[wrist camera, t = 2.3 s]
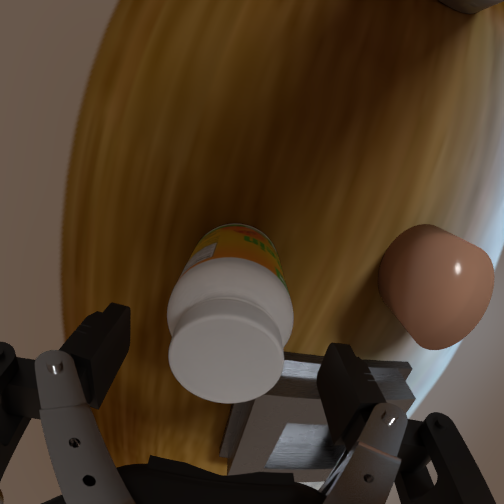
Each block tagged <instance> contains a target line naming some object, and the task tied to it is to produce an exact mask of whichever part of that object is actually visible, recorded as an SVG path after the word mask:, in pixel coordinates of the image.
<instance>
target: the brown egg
mask: <svg viewBox="0 0 504 504" xmlns="http://www.w3.org/2000/svg"><path fill="white" fill-rule="evenodd" d="M493 287H494V269H493V264H492V262H491V259H490V258H489V256H488V254H487V253H486V252H485V251H484V250H482V249H481V248H479V247H477V246H475V245H473V244H471V243H469V242H467V241H465V240H463V239H461V238H459V237H457V236H455V235H453V234H451V233H449V232H447V231H445V230H443V229H441V228H439V227H436V226H434V225H430V224H422V225H417V226H414V227H411V228H409V229H407V230H406V231H404V232H403V233H401V234H400V235H399V236H398V237H397V238H396V239H395V240H394V241H393V242H392V243H391V245H390V246H389V248H388V249H387V251H386V253H385V254H384V256H383V259H382V261H381V264H380V268H379V273H378V288H379V293H380V296H381V298H382V300H383V302H384V303H385V304H386V305H387V307H388V308H389V309H390V310H391V311H392V313H393V314H394V315H395V316H396V318H397V319H398V320H399V321H400V322H401V324H402V325H403V326H404V327H405V329H406V330H407V331H408V332H409V334H410V335H411V336H412V338H413V339H414V340H415V341H416V343H417V344H419V345H420V346H421V347H423V348H425V349H429V350H440V349H444V348H447V347H450V346H452V345H454V344H456V343H457V342H459V341H460V340H462V339H463V338H464V337H466V336H467V335H468V334H469V333H470V332H471V331H472V330H473V329H474V328H475V326H476V325H477V324H478V323H479V321H480V320H481V318H482V317H483V315H484V313H485V311H486V309H487V307H488V305H489V302H490V299H491V296H492V292H493Z"/></svg>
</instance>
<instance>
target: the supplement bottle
mask: <svg viewBox="0 0 504 504" xmlns="http://www.w3.org/2000/svg"><path fill="white" fill-rule="evenodd" d="M167 322H168V327H169V330H170V333H171V336H172V339H171V343H170V346H169V352H168V359H169V364H170V368H171V370H172V373H173V374H174V376H175V378H176V379H177V380H178V382H179V383H180V384H181V385H182V386H183V387H184V388H185V389H187V390H188V391H190V392H191V393H193V394H194V395H196V396H198V397H201V398H203V399H206V400H209V401H213V402H218V403H240V402H246V401H250V400H252V399H255V398H257V397H260V396H262V395H263V394H265V393H266V392H268V391H269V390H270V389H271V388H272V387H273V386H274V385H275V384H276V383H277V381H278V380H279V378H280V376H281V374H282V371H283V367H284V353H283V348H284V346H285V345H286V343H287V341H288V339H289V337H290V335H291V332H292V328H293V308H292V303H291V299H290V295H289V292H288V289H287V285H286V282H285V278H284V275H283V271H282V268H281V264H280V260H279V256H278V253H277V251H276V249H275V247H274V245H273V243H272V242H271V240H270V239H269V238H268V237H267V236H266V235H265V234H264V233H262V232H261V231H259V230H258V229H256V228H254V227H251V226H249V225H245V224H236V223H233V224H226V225H222V226H219V227H217V228H215V229H213V230H211V231H210V232H208V233H207V234H206V235H205V236H204V237H203V238H202V239H201V240H200V241H199V243H198V244H197V246H196V247H195V249H194V251H193V253H192V255H191V256H190V258H189V260H188V262H187V264H186V266H185V268H184V270H183V272H182V274H181V275H180V277H179V279H178V281H177V283H176V285H175V287H174V289H173V291H172V294H171V297H170V299H169V303H168V308H167Z"/></svg>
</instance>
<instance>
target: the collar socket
mask: <svg viewBox="0 0 504 504" xmlns="http://www.w3.org/2000/svg"><path fill="white" fill-rule="evenodd" d="M283 353H284V367H283V371H282V374H281V376H280V378H279V380H278V381H277V383H276V384H275V385H274V386H273V387H272V388H271V389H270V390H269V391H268V392H266V393H265V394H263V395H262V396H260V397H257V398H255V399H252V400H250V401H246V402H240V403H232V406H231V410H230V414H229V417H228V421H227V425H226V428H225V432H224V435H223V439H222V443H221V446H220V451H219V457H227V458H228V461H227V476H228V475H238V474H246V473H254V472H277V473H293V475H294V482H320V481H326V479H327V478H328V476H329V475H330V473H331V472H332V470H333V468H334V467H335V465H336V464H337V462H338V460H339V459H340V457H341V455H342V454H343V452H344V451H345V450H346V447H345V445H334V444H333V441H332V437H331V434H330V430H329V427H328V423H327V420H326V416H325V413H324V409H323V406H322V402H321V399H320V395H319V392H318V389H317V384H316V379H317V373H318V370H319V368H320V366H321V363H322V361H323V359H324V356H316V355H307V354H298V353H290V352H283ZM362 361H364V362H365V363H366V364H367V366H368V368H369V369H370V371H371V375H373V377H374V379H375V381H376V383H377V384H378V386H379V388H380V390H381V392H382V394H383V396H384V398H385V400H386V402H387V403H391V404H394V405H396V406H398V407H400V408H401V409H402V410H403V411H404V412H405V414H406V412H407V411H408V410H409V408H410V407H411V405H412V404H413V402H414V401H415V399H416V398H415V396H414V395H413V393H412V391H411V390H410V388H409V386H408V385H407V383H406V379H407V377H408V376H409V374H410V372H411V370H412V367H411V366H410V364H409V363H408V362H397V361H376V360H362Z"/></svg>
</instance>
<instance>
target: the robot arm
mask: <svg viewBox="0 0 504 504" xmlns="http://www.w3.org/2000/svg"><path fill="white" fill-rule="evenodd" d="M439 1H441V2H442V3H444V4H445V5H447V6H449V7H451V8H452V9H454V10H457V11H460V12H462V13H467V14H473V13H477V12H479V11H481V10H484V9H486V8H488V7H491V6H493V5H495V4H498V3H500V2H503V1H504V0H439ZM129 346H130V307H128V306H124V305H120V304H116V303H110V304H109V306H108V307H107V308H106V309H105V310H104V312H103V313H102V312H98V311H97V312H95V313H93V314H91V315H89V316H87V317H86V318H85V320H84V321H83V322H82V323H81V325H79V327H78V328H77V329H76V331H74V332H73V334H72V335H71V336H70V337H69V338H68V339H67V341H66V342H65V343H64V344H63V345H62V347H61V348H60V349H59V350H50V351H46V352H44V353H42V354H40V355H39V356H38V357H37V359H36V360H32V359H25V358H19V357H16V354H15V350H14V348H13V347H12V346H11V345H10V344H8V343H5V342H0V481H1V478H2V476H3V474H4V471H5V469H6V467H7V465H8V463H9V461H10V459H11V457H12V455H13V453H14V451H15V449H16V446H17V445H18V443H19V441H20V439H21V437H22V435H23V433H24V431H25V429H26V427H27V426H28V424H29V422H30V420H31V418H35V419H41V423H42V428H43V432H44V436H45V440H46V444H47V448H48V452H49V455H50V459H51V462H52V465H53V469H54V472H55V475H56V478H57V481H58V484H59V487H60V489H61V492H62V495H60V496H58V497H55V498H53V499H51V500H49V501H46V502H44V503H41V504H385V503H386V500H387V498H388V496H389V493H390V490H391V488H392V486H393V483H394V482H395V485H396V488H397V492H398V495H399V498H400V502H401V504H496V502H495V500H494V498H493V496H492V494H491V492H490V490H489V488H488V486H487V484H486V482H485V480H484V478H483V476H482V474H481V472H480V470H479V468H478V466H477V464H476V462H475V460H474V458H473V456H472V455H471V453H470V451H469V449H468V448H467V445H466V444H465V442H464V440H463V438H462V436H461V435H460V433H459V431H458V429H457V428H456V426H455V424H454V423H453V421H452V420H451V419H450V418H449V417H448V416H446V415H444V414H442V413H438V412H434V413H431V414H429V415H428V416H427V417H426V419H425V420H424V421H423V422H422V421H416V420H410V419H408V418H407V415H406V414H405V412H404V411H403V410H402V409H401V408H400V407H398V406H396V405H394V404H391V403H387V402H386V400H385V398H384V396H383V394H382V392H381V390H380V388H379V386H378V384H377V383H376V381H375V379H374V377H373V375H371V371H370V369H369V368H368V366H367V364H366V363H365V362H364V361H362V360H361V359H360V358H359V357H356V356H355V354H354V352H353V350H352V348H351V346H350V345H348V344H339V343H331V344H330V345H329V346H328V349H327V351H326V354H325V356H324V359H323V361H322V363H321V366H320V368H319V370H318V373H317V379H316V384H317V389H318V392H319V395H320V399H321V402H322V406H323V409H324V413H325V416H326V420H327V423H328V427H329V430H330V434H331V437H332V441H333V444H334V445H345V447H346V450H345V451H344V452H343V454H342V455H341V457H340V459H339V460H338V462H337V464H336V465H335V467H334V468H333V470H332V472H331V473H330V475H329V476H328V478H327V479H326V481H325V482H324V484H323V485H322V487H321V488H320V489H319V490H316V489H314V488H312V487H309V486H307V485H304V484H301V483H297V482H294V475H293V473H277V472H254V473H246V474H238V475H228V476H222V475H218V474H215V473H212V472H209V471H206V470H203V469H201V468H198V467H195V466H193V465H190V464H188V463H185V462H179V461H174V460H170V459H165V458H160V457H156V456H152V455H150V458H149V462H148V464H131V465H125V466H121V467H117V468H116V467H115V465H114V462H113V460H112V458H111V456H110V454H109V452H108V450H107V447H106V445H105V443H104V441H103V438H102V436H101V433H100V431H99V429H98V426H97V424H96V421H95V418H94V416H93V413H92V411H91V408H90V407H93V408H96V409H98V410H99V408H100V406H101V404H102V402H103V400H104V398H105V396H106V394H107V392H108V390H109V388H110V386H111V384H112V382H113V380H114V378H115V376H116V374H117V372H118V370H119V368H120V366H121V364H122V363H123V361H124V359H125V357H126V355H127V353H128V350H129ZM431 460H432V463H433V465H434V467H435V470H436V472H437V475H438V478H437V483H436V484H435V486H434V484H433V482H432V479H431V477H430V474H429V472H428V469H427V467H426V465H427V464H428V463H429V462H430V461H431ZM3 500H4V499H3V495H2V492H1V490H0V504H3V502H4V501H3Z"/></svg>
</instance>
